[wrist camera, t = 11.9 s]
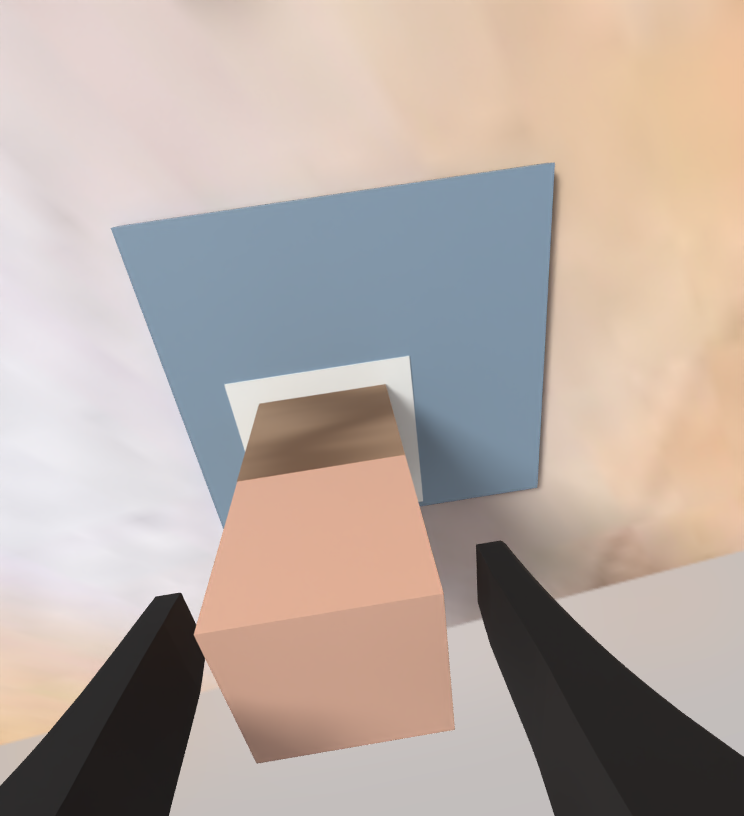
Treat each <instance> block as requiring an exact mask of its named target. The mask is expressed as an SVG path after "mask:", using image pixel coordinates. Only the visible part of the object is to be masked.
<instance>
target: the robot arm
mask: <svg viewBox="0 0 744 816" xmlns="http://www.w3.org/2000/svg"><path fill="white" fill-rule="evenodd" d="M476 557H477V593H478V604H479V608H480V611H481V615H482V618H483V622H484V625H485V629H486V632H487V635H488V639H489V642H490V645H491V648H492V650H493V653H494V655H495V658H496V660H497V663H498V665H499V668H500V670H501V672H502V675H503V677H504V680H505V682H506V685H507V687H508V690H509V692H510V694H511V697H512V700H513V702H514V704H515V707H516V709H517V712H518V714H519V717H520V719H521V722H522V724H523V726H524V729H525V732H526V734H527V736H528V739H529V741H530V744H531V746H532V749H533V752H534V755H535V757H536V759H537V763H538V766H539V768H540V771H541V775H542V778H543V781H544V784H545V787H546V790H547V793H548V796H549V800H550V803H551V806H552V809H553V812H554V815H555V816H744V757H743V756H742V755H740V754H739V753H738V752H736V751H735V750H733V749H732V748H730V747H729V746H728V745H726V744H725V743H724V742H722V741H721V740H720V739H718V738H717V737H715V736H714V735H713V734H711V733H710V732H708V731H707V730H706V729H704V728H703V727H702V726H700V725H699V724H697V723H696V722H694V721H693V720H692V719H691V718H689V717H688V716H686V715H685V714H684V713H682V712H681V711H680V710H678V709H677V708H676V707H675V706H673V705H672V704H671V703H669V702H668V701H667V700H666V699H664V698H663V697H662V696H660V695H659V694H658V693H657V692H655V691H654V690H653V689H652V688H650V687H649V686H648V685H647V684H646V683H644V682H643V681H642V680H641V679H639V678H638V677H637V676H636V675H635V674H634V673H632V672H631V671H630V670H629V669H628V668H626V667H625V666H624V665H623V664H622V663H621V662H619V661H618V660H617V659H616V658H615V657H614V656H613V655H611V654H610V653H609V652H608V651H607V650H606V649H605V648H604V647H603V646H601V644H599V643H598V642H597V641H596V640H595V639H594V638H593V637H592V636H591V635H590V634H589V633H587V632H586V631H585V630H584V629H583V628H582V627H581V626H580V625H579V624H578V623H577V622H576V621H575V620H574V619H573V618H572V617H571V616H570V615H569V614H568V613H567V612H566V611H565V610H564V609H563V608H562V607H561V606H560V605H559V604H558V603H557V602H556V601H555V600H554V599H553V597H552V596H551V595H550V594H549V593H548V592H547V591H546V590H545V589H544V588H543V587H542V586H541V585H540V584H539V583H538V581H537V580H536V579H535V578H534V577H533V576H532V575H531V574H530V573H529V571H528V570H527V569H526V568H525V567H524V566H523V564H522V563H521V562H520V561H519V560H518V559H517V557H516V556H515V555H514V554H513V553H512V551H511V550H510V549H509V548H508V546H507V545H506V544H505V543H504V542H502V541H495V542H489V543H483V544H477V545H476ZM195 628H196V623H195V621H194V619H193V617H192V615H191V613H190V611H189V609H188V606H187V604H186V602H185V600H184V598H183V596H182V594H181V593H175V594H169V595H163V596H157V597H155V598H154V600H153V601H152V602H151V603H150V605H149V606H148V607H147V609H146V610H145V611H144V612H143V614H142V615H141V616H140V618H139V619H138V620H137V622H136V623H135V624H134V626H133V627H132V628H131V629H130V631H129V632H128V633H127V635H126V636H125V637H124V639H123V640H122V641H121V643H120V644H119V645H118V647H117V648H116V649H115V651H114V652H113V653H112V654H111V656H110V657H109V658H108V660H107V661H106V662H105V663H104V665H103V666H102V667H101V669H100V670H99V671H98V672H97V674H96V675H95V676H94V678H93V679H92V680H91V681H90V683H89V684H88V685H87V686H86V688H85V689H84V690H83V692H82V693H81V694H80V695H79V696H78V698H77V699H76V700H75V701H74V703H73V704H72V705H71V706H70V707H69V708H68V710H67V711H66V712H65V713H64V714H63V716H62V717H61V718H60V719H59V720H58V722H57V723H56V724H55V725H54V726H53V728H52V729H51V730H50V731H49V732H48V734H47V735H46V736H45V737H44V738H43V739H42V741H41V742H40V743H39V744H38V745H37V746H36V748H35V749H34V750H33V751H32V752H31V753H30V754H29V756H27V758H26V759H25V760H24V761H23V762H22V763H21V764H20V765H19V766H18V768H17V769H16V770H15V771H14V772H13V773H12V774H11V775H10V776H9V777H8V778H7V779H6V780H5V781H4V782H3V784H2V785H1V786H0V816H169V813H170V808H171V804H172V800H173V797H174V793H175V789H176V785H177V781H178V777H179V774H180V770H181V766H182V762H183V758H184V754H185V750H186V747H187V743H188V739H189V735H190V731H191V727H192V723H193V719H194V715H195V711H196V707H197V703H198V699H199V695H200V690H201V683H202V677H203V670H204V662H205V657H204V655H203V653H202V651H201V649H200V647H199V645H198V643H197V641H196V639H195V637H194V632H195Z"/></svg>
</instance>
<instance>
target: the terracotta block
mask: <svg viewBox="0 0 744 816" xmlns="http://www.w3.org/2000/svg"><path fill="white" fill-rule="evenodd" d="M194 637H195V639H196V641H197V643H198V645H199V647H200V649H201V651H202V653H203V655H204V657H205V659H206V661H207V663H208V665H209V667H210V669H211V671H212V673H213V675H214V677H215V679H216V681H217V683H218V686H219V688H220V689H221V692H222V694H223V696H224V698H225V700H226V702H227V704H228V706H229V708H230V710H231V712H232V714H233V716H234V718H235V720H236V722H237V724H238V726H239V728H240V730H241V732H242V734H243V737H244V738H245V741H246V743H247V745H248V746H249V749H250V751H251V752H252V755H253V757H254V759H255V761H256V763H263V762H268V761H275V760H281V759H286V758H292V757H298V756H304V755H310V754H316V753H321V752H327V751H333V750H339V749H345V748H351V747H356V746H362V745H368V744H374V743H380V742H386V741H392V740H397V739H403V738H409V737H415V736H420V735H427V734H432V733H438V732H444V731H450V730H455V726H454V714H453V703H452V691H451V677H450V666H449V653H448V642H447V629H446V617H445V605H444V593H443V590H442V586H441V582H440V579H439V575H438V571H437V568H436V564H435V561H434V557H433V553H432V550H431V546H430V543H429V539H428V535H427V532H426V528H425V524H424V521H423V517H422V514H421V510H420V506H419V503H418V499H417V496H416V492H415V488H414V485H413V481H412V477H411V474H410V470H409V467H408V463H407V459H406V456H405V455H400V456H394V457H388V458H381V459H375V460H369V461H363V462H356V463H350V464H344V465H338V466H331V467H325V468H319V469H313V470H307V471H300V472H294V473H288V474H282V475H275V476H269V477H263V478H257V479H250V480H244V481H238V482H237V484H236V488H235V491H234V495H233V498H232V502H231V505H230V509H229V512H228V516H227V519H226V523H225V526H224V530H223V533H222V537H221V541H220V544H219V548H218V551H217V555H216V558H215V562H214V565H213V569H212V572H211V576H210V579H209V583H208V586H207V590H206V593H205V597H204V600H203V604H202V607H201V611H200V614H199V618H198V621H197V625H196V628H195V632H194Z"/></svg>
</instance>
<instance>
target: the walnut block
mask: <svg viewBox="0 0 744 816" xmlns="http://www.w3.org/2000/svg"><path fill="white" fill-rule="evenodd" d="M400 455H405V452H404V449H403V445H402V441H401V438H400V434H399V431H398V427H397V423H396V420H395V416H394V412H393V409H392V405H391V402H390V398H389V394H388V391H387V387H386V384H383V385H376V386H370V387H363V388H357V389H350V390H344V391H338V392H331V393H325V394H318V395H312V396H305V397H299V398H292V399H286V400H279V401H273V402H267V403H260V404H259V406H258V409H257V413H256V416H255V420H254V423H253V427H252V430H251V434H250V437H249V441H248V444H247V448H246V451H245V455H244V458H243V462H242V465H241V469H240V472H239V476H238V479H237V482H238V481H244V480H250V479H257V478H263V477H269V476H275V475H282V474H288V473H294V472H300V471H307V470H313V469H319V468H325V467H331V466H338V465H344V464H350V463H356V462H363V461H369V460H375V459H381V458H388V457H394V456H400Z"/></svg>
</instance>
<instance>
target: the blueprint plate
mask: <svg viewBox="0 0 744 816" xmlns="http://www.w3.org/2000/svg"><path fill="white" fill-rule="evenodd" d="M554 167H555V163H544V164H537V165H530V166H523V167H517V168H510V169H503V170H496V171H489V172H483V173H476V174H469V175H462V176H455V177H449V178H442V179H435V180H428V181H421V182H415V183H408V184H401V185H394V186H388V187H381V188H374V189H367V190H360V191H354V192H347V193H340V194H333V195H326V196H320V197H313V198H306V199H299V200H292V201H286V202H279V203H272V204H265V205H258V206H252V207H245V208H238V209H231V210H224V211H218V212H211V213H204V214H197V215H190V216H184V217H177V218H170V219H163V220H156V221H150V222H143V223H136V224H129V225H122V226H117V227H113V228H111V230H112V232H113V235H114V238H115V240H116V243H117V246H118V248H119V251H120V254H121V256H122V259H123V262H124V264H125V267H126V270H127V272H128V275H129V278H130V281H131V283H132V286H133V289H134V291H135V294H136V297H137V299H138V302H139V305H140V307H141V310H142V313H143V315H144V318H145V321H146V323H147V326H148V329H149V331H150V334H151V337H152V339H153V342H154V345H155V347H156V350H157V353H158V355H159V358H160V361H161V363H162V366H163V369H164V371H165V374H166V377H167V379H168V382H169V385H170V387H171V390H172V393H173V395H174V398H175V401H176V403H177V406H178V409H179V411H180V414H181V417H182V419H183V422H184V425H185V427H186V430H187V433H188V435H189V438H190V441H191V443H192V446H193V449H194V451H195V454H196V457H197V459H198V462H199V465H200V468H201V470H202V473H203V476H204V478H205V481H206V484H207V486H208V489H209V492H210V494H211V497H212V500H213V502H214V505H215V508H216V510H217V513H218V516H219V518H220V521H221V524H222V526H223V529H224V526H225V523H226V519H227V516H228V512H229V509H230V505H231V502H232V498H233V495H234V491H235V488H236V484H237V479H238V476H239V472H240V469H241V465H242V462H243V458H244V455H245V451H246V448H247V444H248V441H249V437H250V434H251V430H252V427H253V423H254V420H255V416H256V413H257V409H258V406H259V404H260V403H267V402H273V401H279V400H286V399H292V398H299V397H305V396H312V395H318V394H325V393H331V392H338V391H344V390H350V389H357V388H363V387H370V386H376V385H383V384H386V387H387V391H388V394H389V398H390V402H391V405H392V409H393V412H394V416H395V420H396V423H397V427H398V431H399V434H400V438H401V441H402V445H403V449H404V452H405V456H406V459H407V463H408V467H409V470H410V474H411V477H412V481H413V485H414V488H415V492H416V496H417V499H418V503H419V506H426V505H432V504H438V503H444V502H450V501H457V500H463V499H469V498H475V497H482V496H488V495H494V494H500V493H507V492H513V491H519V490H525V489H532V488H537V484H538V465H539V446H540V428H541V409H542V391H543V372H544V353H545V335H546V316H547V297H548V279H549V260H550V242H551V223H552V204H553V186H554Z"/></svg>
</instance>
